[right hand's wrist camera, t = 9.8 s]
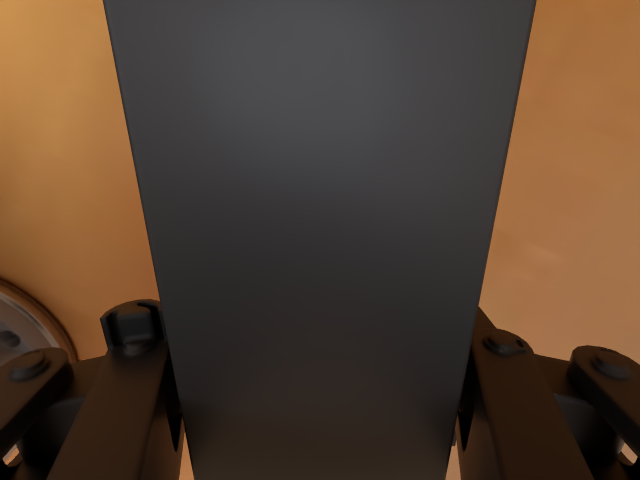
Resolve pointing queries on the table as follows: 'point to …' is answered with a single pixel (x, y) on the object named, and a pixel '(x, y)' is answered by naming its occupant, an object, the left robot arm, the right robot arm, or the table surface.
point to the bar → (319, 218)
